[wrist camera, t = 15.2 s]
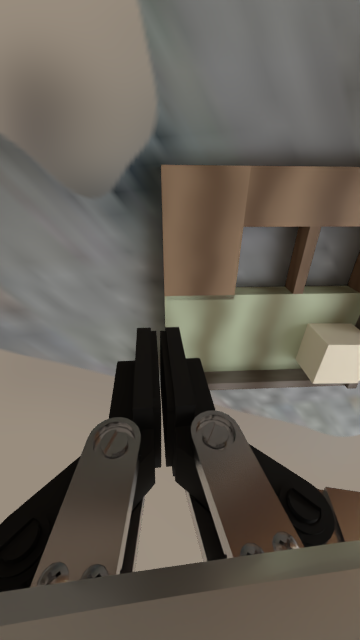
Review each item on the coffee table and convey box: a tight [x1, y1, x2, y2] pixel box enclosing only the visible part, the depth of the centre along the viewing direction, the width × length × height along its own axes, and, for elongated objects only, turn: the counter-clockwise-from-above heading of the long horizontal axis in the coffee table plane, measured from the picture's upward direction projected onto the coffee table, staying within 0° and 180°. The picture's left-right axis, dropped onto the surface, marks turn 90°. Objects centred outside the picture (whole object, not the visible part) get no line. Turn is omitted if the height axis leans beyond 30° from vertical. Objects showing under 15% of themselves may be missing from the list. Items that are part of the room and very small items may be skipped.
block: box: [295, 323, 360, 384], centre depth 27 cm, size 5×5×4 cm
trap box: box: [161, 165, 360, 390], centre depth 25 cm, size 22×22×4 cm
